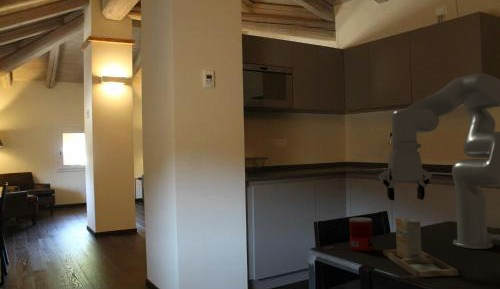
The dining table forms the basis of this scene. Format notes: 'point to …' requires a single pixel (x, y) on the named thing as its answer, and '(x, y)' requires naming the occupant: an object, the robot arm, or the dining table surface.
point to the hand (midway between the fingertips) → (406, 199)
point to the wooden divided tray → (422, 265)
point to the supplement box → (408, 238)
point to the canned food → (361, 234)
